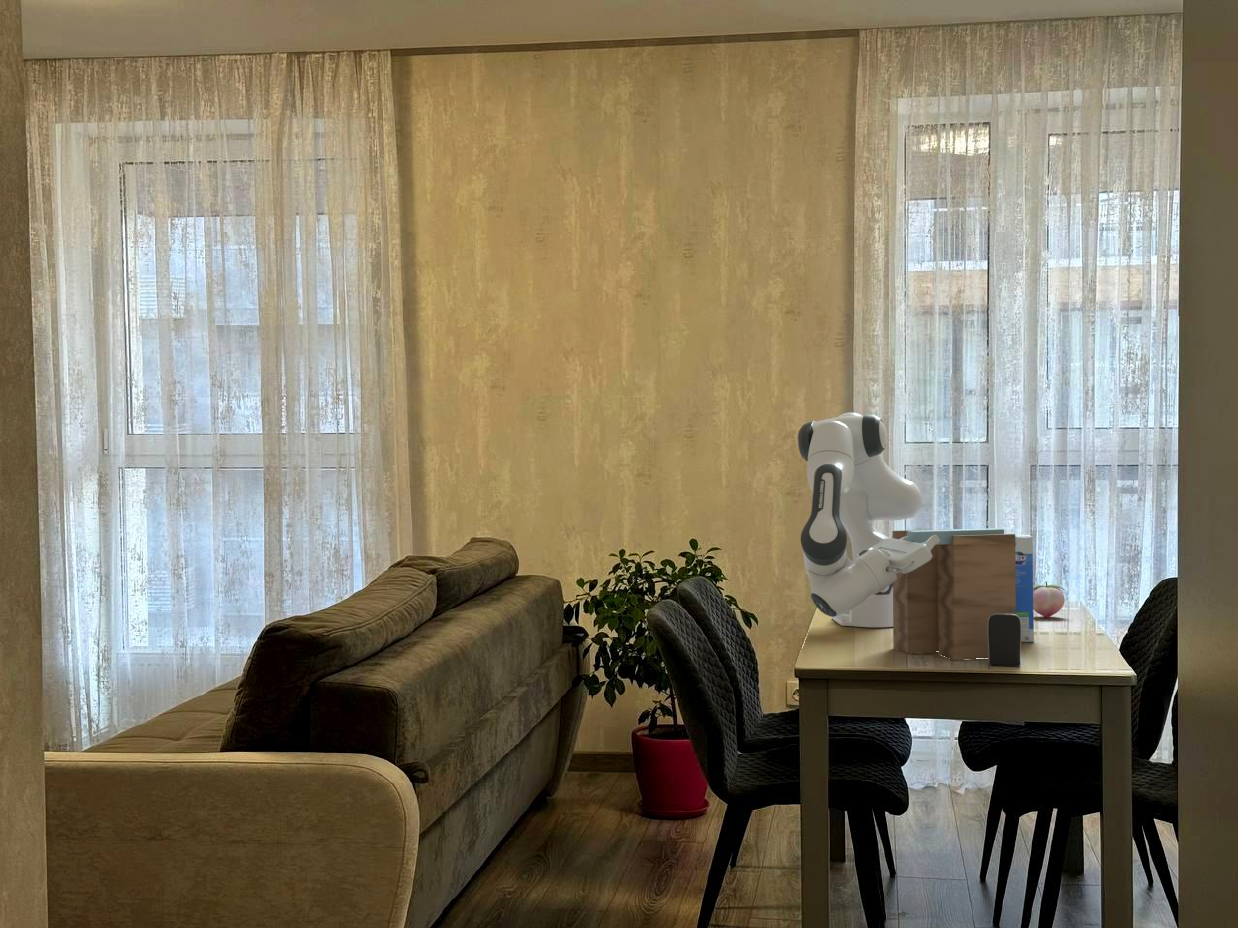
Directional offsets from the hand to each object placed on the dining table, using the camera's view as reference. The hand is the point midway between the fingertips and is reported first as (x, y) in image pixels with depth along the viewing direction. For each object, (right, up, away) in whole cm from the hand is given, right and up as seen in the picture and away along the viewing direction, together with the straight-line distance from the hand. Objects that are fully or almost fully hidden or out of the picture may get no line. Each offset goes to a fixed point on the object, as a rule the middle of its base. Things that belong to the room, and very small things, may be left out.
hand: (927, 535), depth 288 cm
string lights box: (+25, -27, +26) cm, 45 cm away
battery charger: (+15, -28, -8) cm, 33 cm away
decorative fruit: (+48, -26, +63) cm, 83 cm away
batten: (+7, -2, +1) cm, 7 cm away
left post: (+4, -28, +13) cm, 31 cm away
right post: (+12, -28, +3) cm, 30 cm away
